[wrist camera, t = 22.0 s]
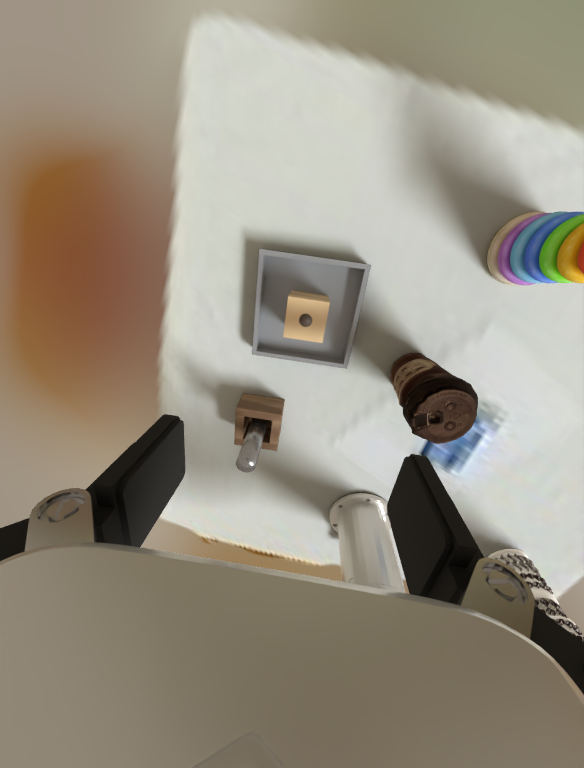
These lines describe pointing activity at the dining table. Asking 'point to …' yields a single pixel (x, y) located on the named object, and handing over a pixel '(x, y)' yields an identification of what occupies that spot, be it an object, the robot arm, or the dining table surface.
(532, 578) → the decorative candle
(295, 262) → the tray
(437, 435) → the coffee cup
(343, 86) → the dining table surface
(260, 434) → the cylinder
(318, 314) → the oak block
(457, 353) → the dining table surface
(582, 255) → the stacking toy
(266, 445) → the go block
